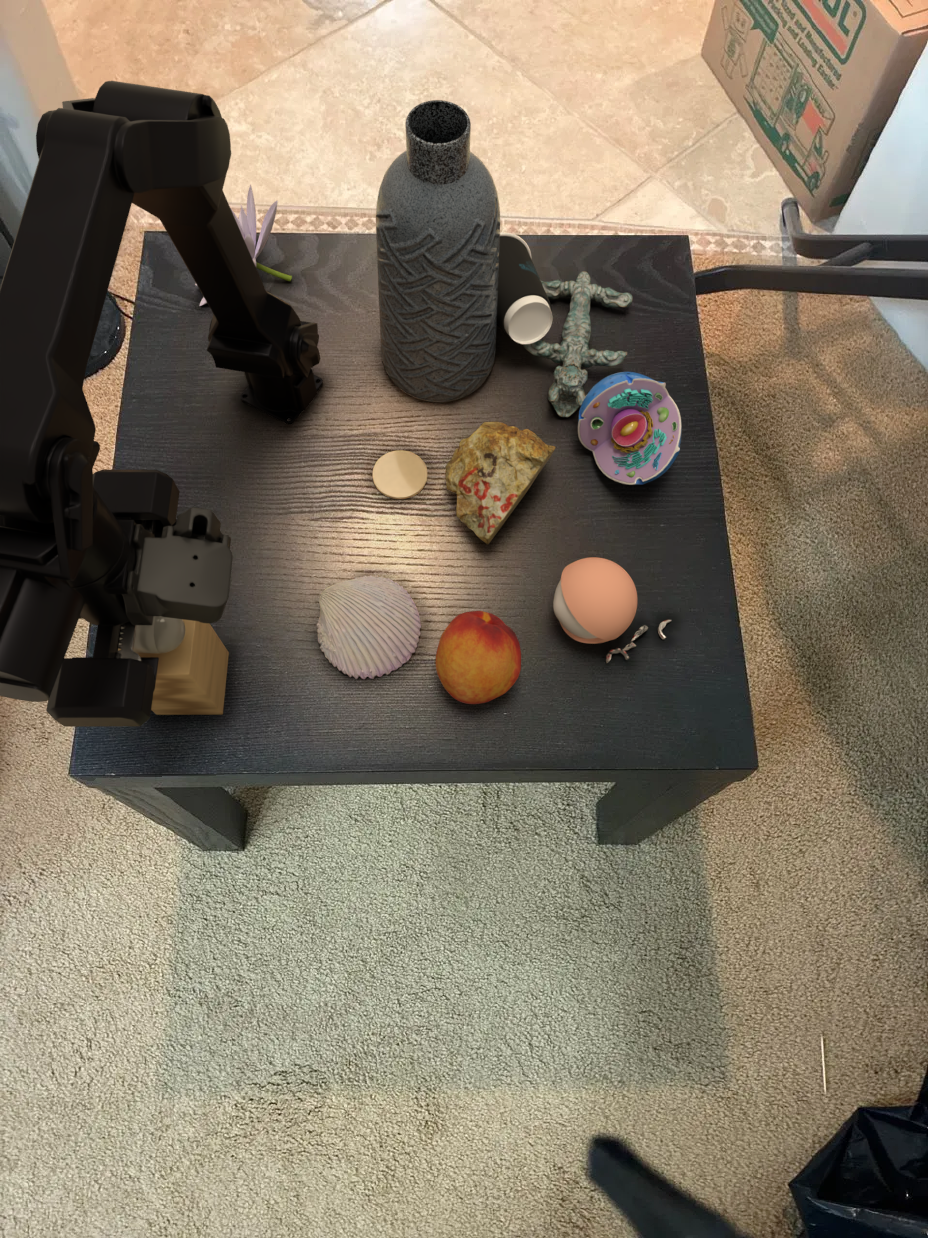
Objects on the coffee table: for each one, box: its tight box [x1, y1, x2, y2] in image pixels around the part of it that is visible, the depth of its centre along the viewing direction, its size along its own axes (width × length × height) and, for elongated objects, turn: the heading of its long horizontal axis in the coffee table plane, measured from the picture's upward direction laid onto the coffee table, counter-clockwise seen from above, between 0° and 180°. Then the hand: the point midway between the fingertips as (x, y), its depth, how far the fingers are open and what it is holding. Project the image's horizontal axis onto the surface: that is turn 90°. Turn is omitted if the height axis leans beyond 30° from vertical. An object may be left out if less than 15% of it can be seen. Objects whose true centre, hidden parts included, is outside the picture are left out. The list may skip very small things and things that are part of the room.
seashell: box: [316, 574, 422, 680], centre depth 81 cm, size 10×6×10 cm
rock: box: [444, 421, 557, 546], centre depth 86 cm, size 12×9×10 cm
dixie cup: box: [497, 231, 554, 345], centre depth 91 cm, size 8×8×11 cm
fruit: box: [434, 610, 522, 705], centre depth 77 cm, size 8×8×8 cm
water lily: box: [194, 184, 293, 307], centre depth 95 cm, size 15×15×9 cm
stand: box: [118, 619, 230, 716], centre depth 75 cm, size 6×6×12 cm
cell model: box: [577, 371, 683, 486], centre depth 86 cm, size 10×12×10 cm
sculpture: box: [522, 270, 633, 418], centre depth 94 cm, size 11×20×5 cm, turn 171°
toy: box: [605, 619, 672, 664], centre depth 82 cm, size 1×8×2 cm
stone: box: [119, 616, 186, 654], centre depth 68 cm, size 6×4×4 cm, turn 91°
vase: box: [375, 99, 501, 403], centre depth 81 cm, size 12×12×28 cm
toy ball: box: [552, 556, 638, 645], centre depth 80 cm, size 8×8×8 cm
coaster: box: [371, 449, 428, 500], centre depth 89 cm, size 6×6×1 cm
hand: (153, 636), depth 69 cm, fingers open, 7 cm apart
